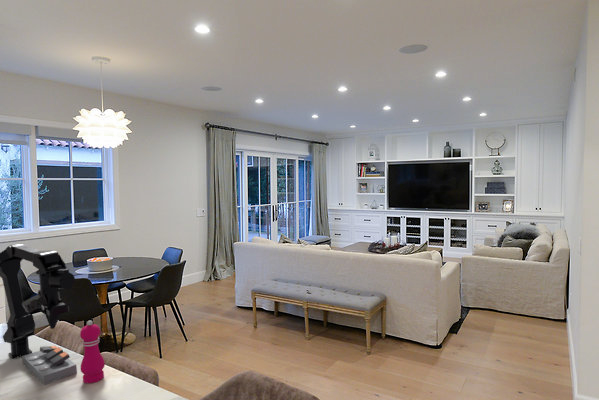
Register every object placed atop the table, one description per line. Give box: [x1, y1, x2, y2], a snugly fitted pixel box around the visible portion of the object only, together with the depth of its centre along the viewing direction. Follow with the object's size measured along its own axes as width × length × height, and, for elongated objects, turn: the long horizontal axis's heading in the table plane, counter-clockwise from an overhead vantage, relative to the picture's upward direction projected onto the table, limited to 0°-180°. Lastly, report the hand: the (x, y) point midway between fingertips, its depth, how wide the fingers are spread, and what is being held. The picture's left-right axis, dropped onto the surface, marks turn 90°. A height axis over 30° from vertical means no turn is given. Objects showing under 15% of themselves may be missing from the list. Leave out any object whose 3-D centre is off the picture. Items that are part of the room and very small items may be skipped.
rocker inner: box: [39, 345, 58, 353], centre depth 149 cm, size 4×5×2 cm
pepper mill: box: [79, 320, 106, 384], centre depth 134 cm, size 7×7×20 cm
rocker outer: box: [50, 351, 71, 366], centre depth 141 cm, size 4×5×2 cm
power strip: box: [21, 350, 78, 386], centre depth 143 cm, size 24×10×3 cm, turn 49°
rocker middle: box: [44, 347, 64, 361], centre depth 144 cm, size 4×5×2 cm
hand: (52, 328), depth 147 cm, fingers closed
